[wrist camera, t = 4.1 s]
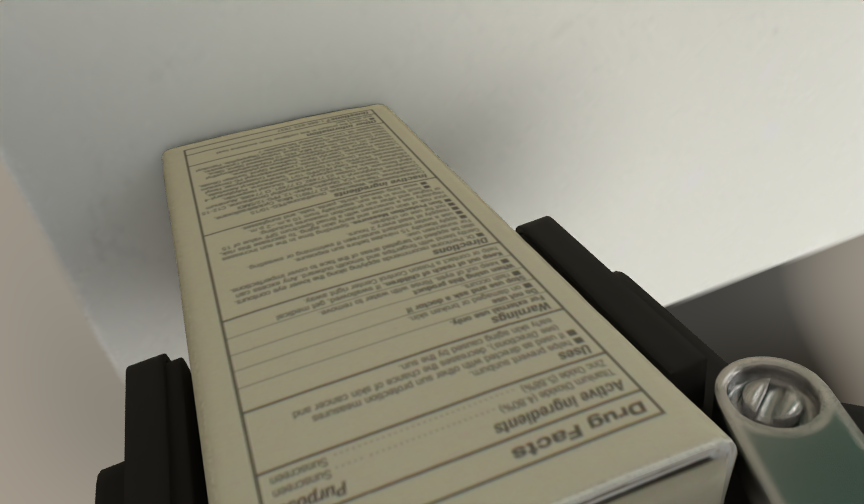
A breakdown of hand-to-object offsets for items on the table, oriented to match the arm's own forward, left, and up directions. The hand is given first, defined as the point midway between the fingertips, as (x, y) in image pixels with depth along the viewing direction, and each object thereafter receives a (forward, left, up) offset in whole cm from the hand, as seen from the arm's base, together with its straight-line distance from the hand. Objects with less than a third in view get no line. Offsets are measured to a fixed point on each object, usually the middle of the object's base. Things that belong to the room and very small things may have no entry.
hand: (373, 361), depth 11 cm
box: (0, 0, -6) cm, 6 cm away
